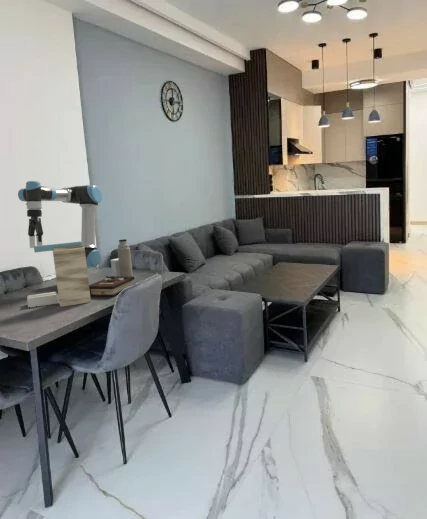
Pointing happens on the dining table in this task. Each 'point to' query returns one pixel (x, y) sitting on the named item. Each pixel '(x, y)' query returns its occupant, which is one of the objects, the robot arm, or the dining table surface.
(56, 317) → the dining table surface
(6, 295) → the dining table surface
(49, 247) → the bar
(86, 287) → the pedestal
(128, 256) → the thermos bottle
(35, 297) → the dock
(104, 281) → the decorative book
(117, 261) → the skincare box
